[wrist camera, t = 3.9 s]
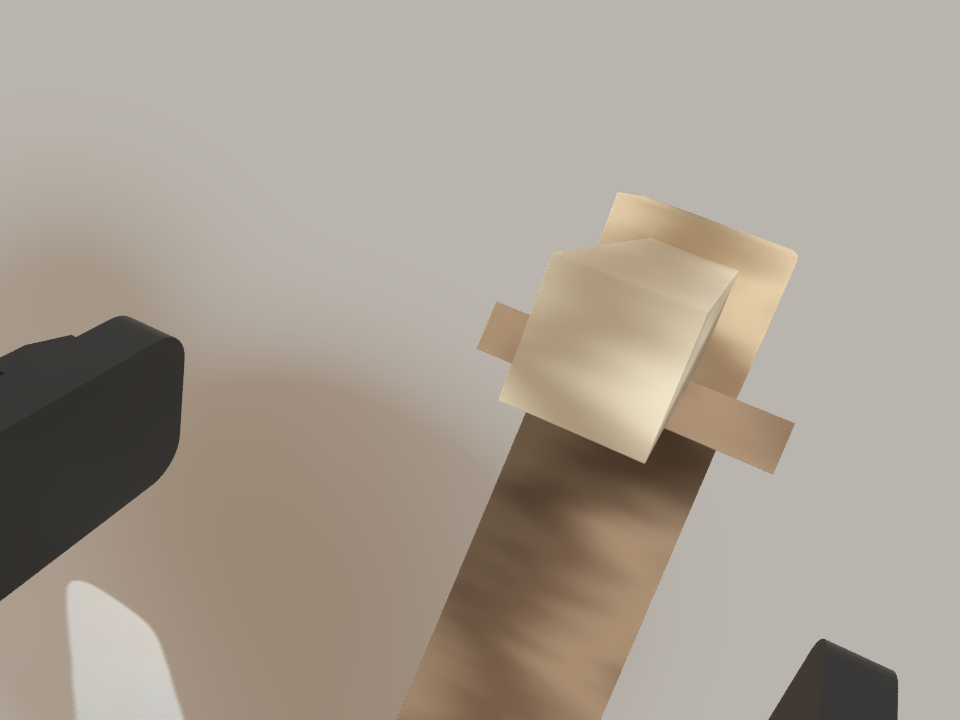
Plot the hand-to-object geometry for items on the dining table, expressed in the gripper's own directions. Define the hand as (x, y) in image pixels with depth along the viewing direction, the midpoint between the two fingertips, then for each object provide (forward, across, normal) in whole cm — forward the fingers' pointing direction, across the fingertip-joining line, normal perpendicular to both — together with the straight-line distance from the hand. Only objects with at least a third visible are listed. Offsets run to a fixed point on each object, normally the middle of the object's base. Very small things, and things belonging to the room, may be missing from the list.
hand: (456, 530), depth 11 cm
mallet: (+16, 0, +6) cm, 17 cm away
